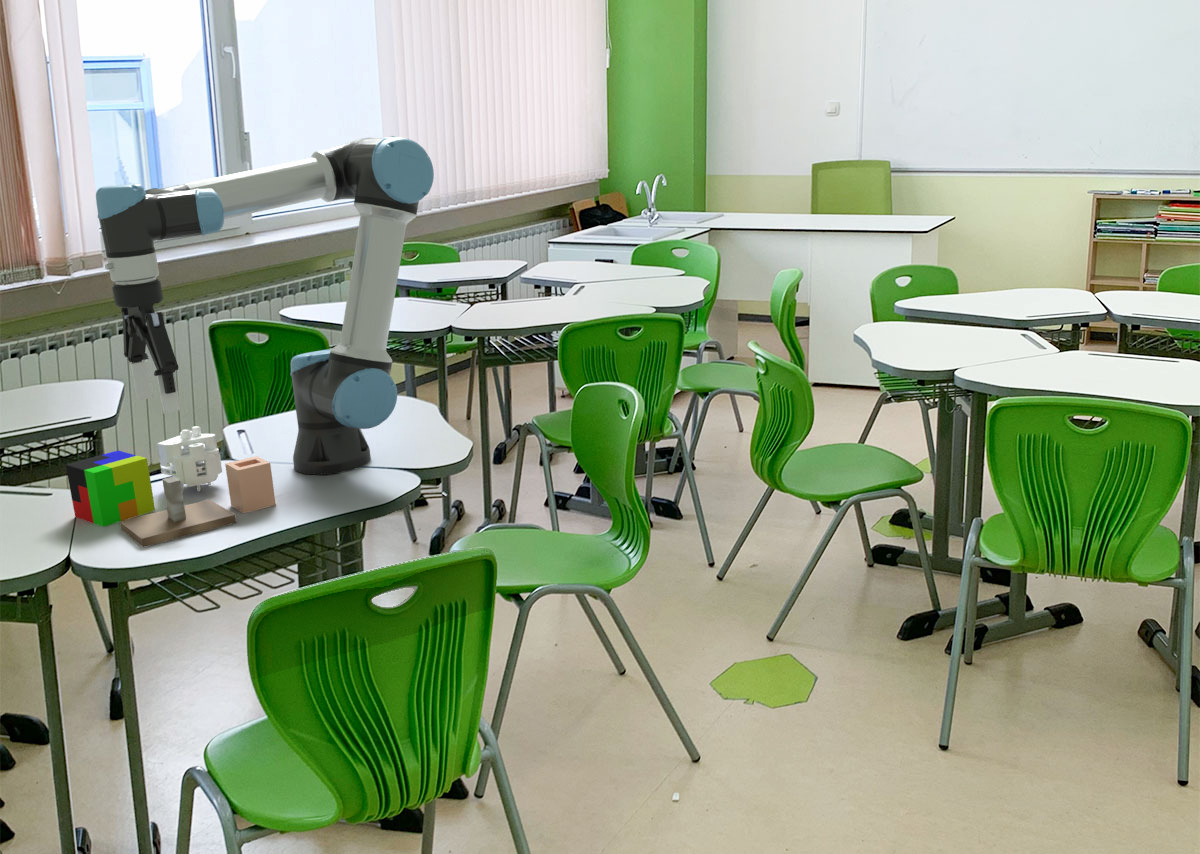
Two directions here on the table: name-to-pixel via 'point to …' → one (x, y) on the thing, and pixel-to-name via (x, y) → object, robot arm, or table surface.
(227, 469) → the peach block with hole
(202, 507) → the shaft plate
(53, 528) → the table surface
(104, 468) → the puzzle toy
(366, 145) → the robot arm
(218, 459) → the mechanical part
